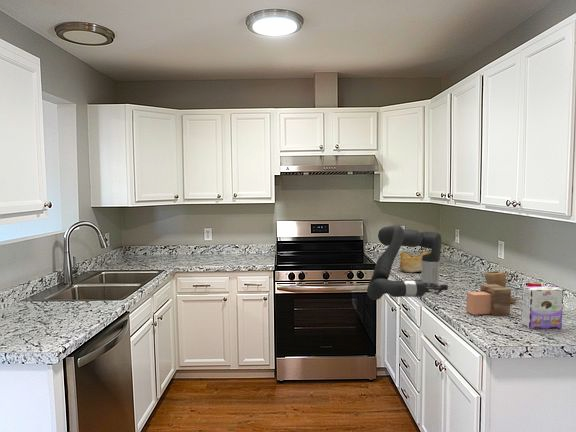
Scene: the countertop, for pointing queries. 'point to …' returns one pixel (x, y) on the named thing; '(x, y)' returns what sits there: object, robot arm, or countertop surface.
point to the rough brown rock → (412, 262)
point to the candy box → (542, 307)
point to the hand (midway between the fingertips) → (446, 287)
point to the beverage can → (533, 284)
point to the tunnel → (498, 298)
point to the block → (479, 302)
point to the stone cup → (497, 279)
